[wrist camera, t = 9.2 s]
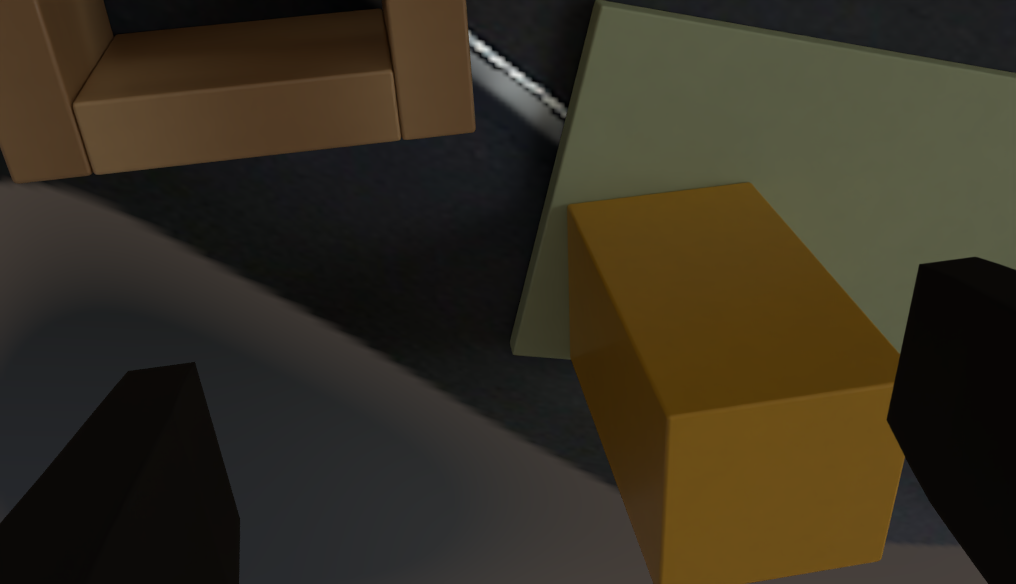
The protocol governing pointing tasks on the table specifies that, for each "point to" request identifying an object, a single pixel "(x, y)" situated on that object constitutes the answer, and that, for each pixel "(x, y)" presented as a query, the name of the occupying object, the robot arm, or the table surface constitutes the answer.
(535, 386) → the table surface
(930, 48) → the table surface
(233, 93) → the stand
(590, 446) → the table surface
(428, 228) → the table surface
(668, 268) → the block
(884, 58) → the mat
